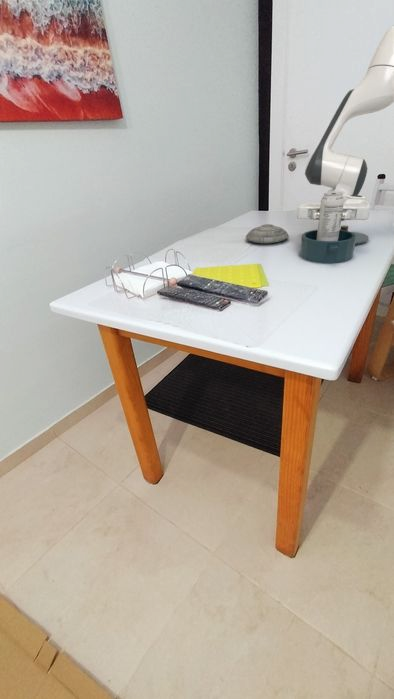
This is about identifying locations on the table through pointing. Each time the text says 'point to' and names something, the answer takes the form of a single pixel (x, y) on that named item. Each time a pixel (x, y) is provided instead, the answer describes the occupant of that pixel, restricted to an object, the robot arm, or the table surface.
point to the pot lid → (357, 235)
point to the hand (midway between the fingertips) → (330, 216)
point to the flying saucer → (267, 234)
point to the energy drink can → (330, 216)
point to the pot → (327, 247)
